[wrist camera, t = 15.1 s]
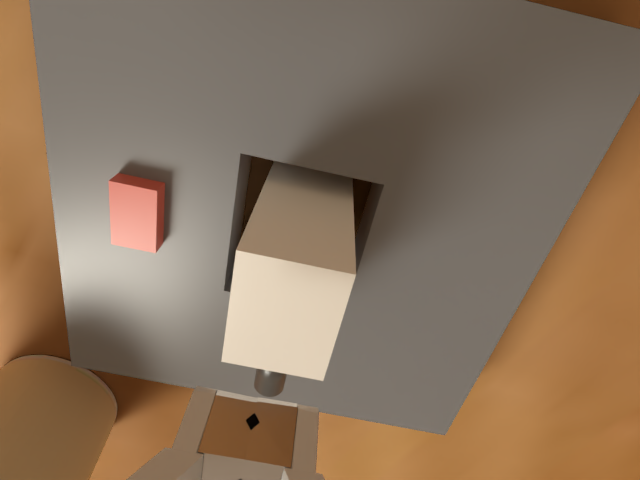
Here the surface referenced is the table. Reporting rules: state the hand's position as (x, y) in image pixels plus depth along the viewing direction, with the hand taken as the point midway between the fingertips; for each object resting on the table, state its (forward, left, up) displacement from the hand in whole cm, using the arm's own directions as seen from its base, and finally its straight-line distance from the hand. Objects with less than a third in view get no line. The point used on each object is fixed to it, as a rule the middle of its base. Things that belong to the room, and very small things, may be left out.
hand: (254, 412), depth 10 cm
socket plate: (0, 0, -11) cm, 11 cm away
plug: (0, 0, -11) cm, 11 cm away
